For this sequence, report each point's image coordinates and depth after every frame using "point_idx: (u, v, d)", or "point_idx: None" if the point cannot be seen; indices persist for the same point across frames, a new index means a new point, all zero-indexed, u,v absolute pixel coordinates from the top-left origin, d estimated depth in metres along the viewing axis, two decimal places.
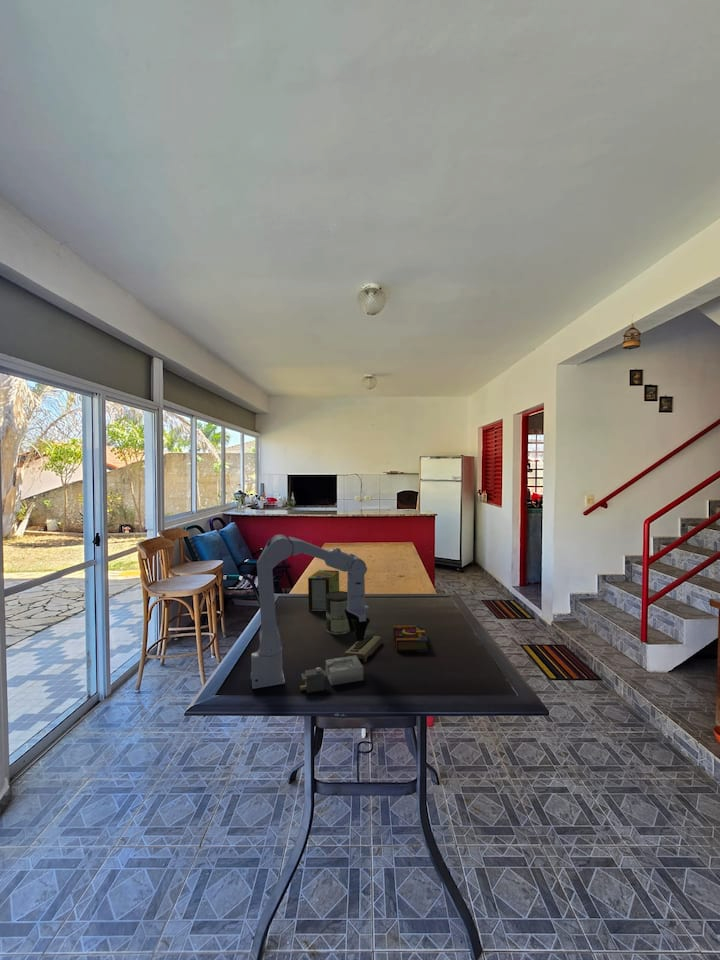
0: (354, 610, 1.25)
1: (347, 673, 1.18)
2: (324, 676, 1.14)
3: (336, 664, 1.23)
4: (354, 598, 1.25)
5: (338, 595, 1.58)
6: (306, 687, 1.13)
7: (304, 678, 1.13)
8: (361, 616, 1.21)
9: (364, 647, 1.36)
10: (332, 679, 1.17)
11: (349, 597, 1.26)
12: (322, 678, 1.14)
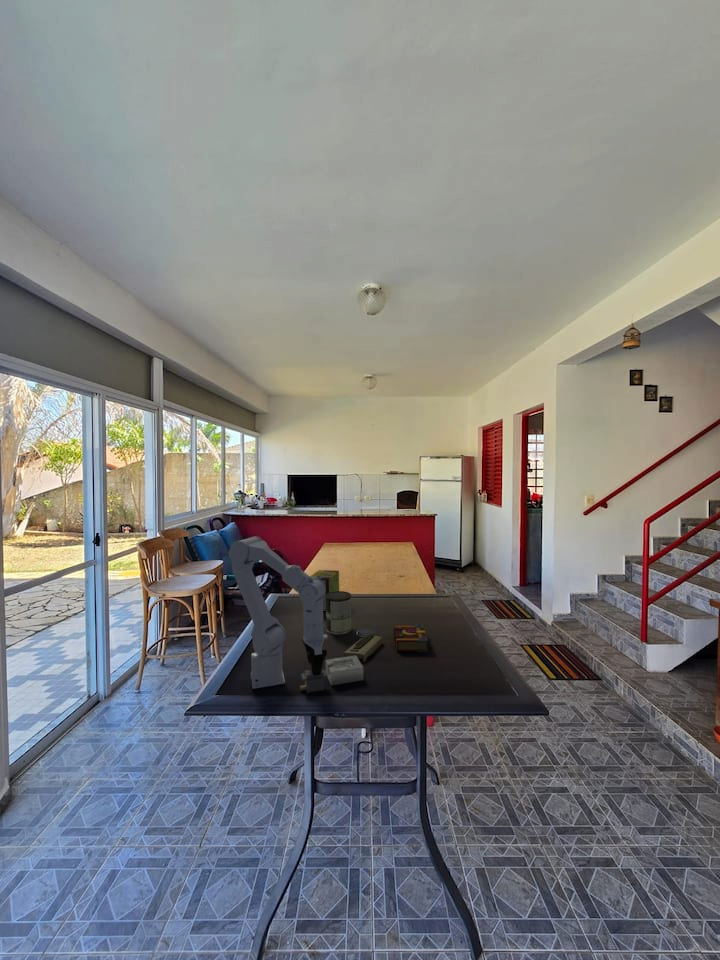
0: (310, 641, 1.12)
1: (347, 673, 1.18)
2: (324, 676, 1.14)
3: (336, 664, 1.23)
4: (310, 627, 1.12)
5: (338, 595, 1.58)
6: (306, 687, 1.13)
7: (304, 678, 1.13)
8: (316, 649, 1.08)
9: (364, 647, 1.36)
10: (332, 679, 1.17)
11: (305, 626, 1.13)
12: (322, 678, 1.14)
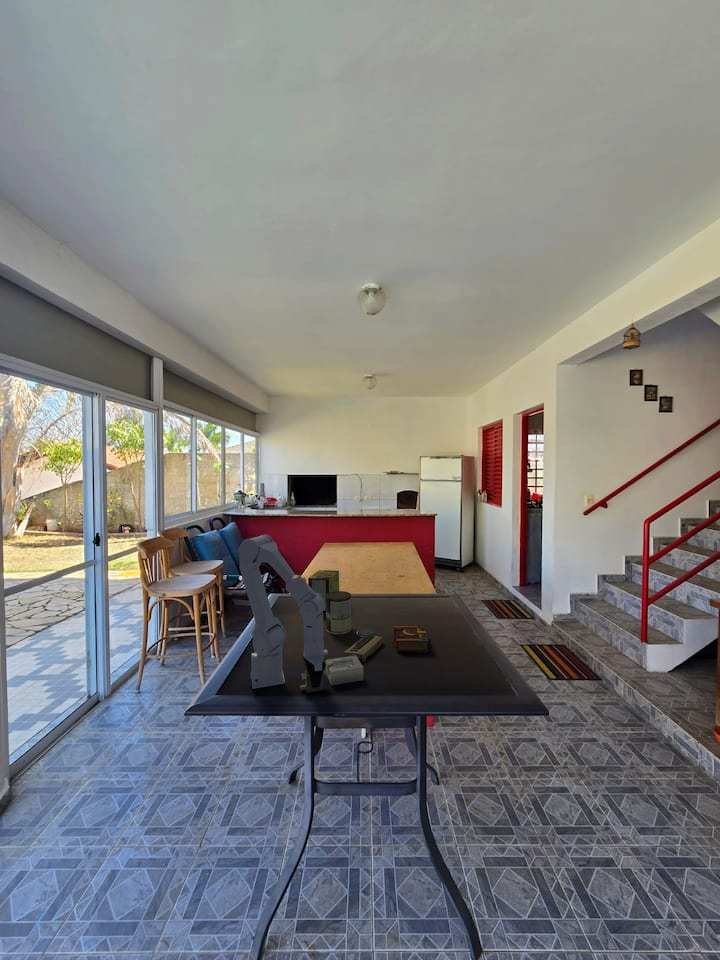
0: (310, 656, 1.12)
1: (347, 673, 1.18)
2: (324, 676, 1.14)
3: (336, 664, 1.23)
4: (310, 643, 1.12)
5: (338, 595, 1.58)
6: (306, 687, 1.13)
7: (304, 678, 1.13)
8: (316, 665, 1.08)
9: (364, 647, 1.36)
10: (332, 679, 1.17)
11: (305, 642, 1.13)
12: (322, 678, 1.14)
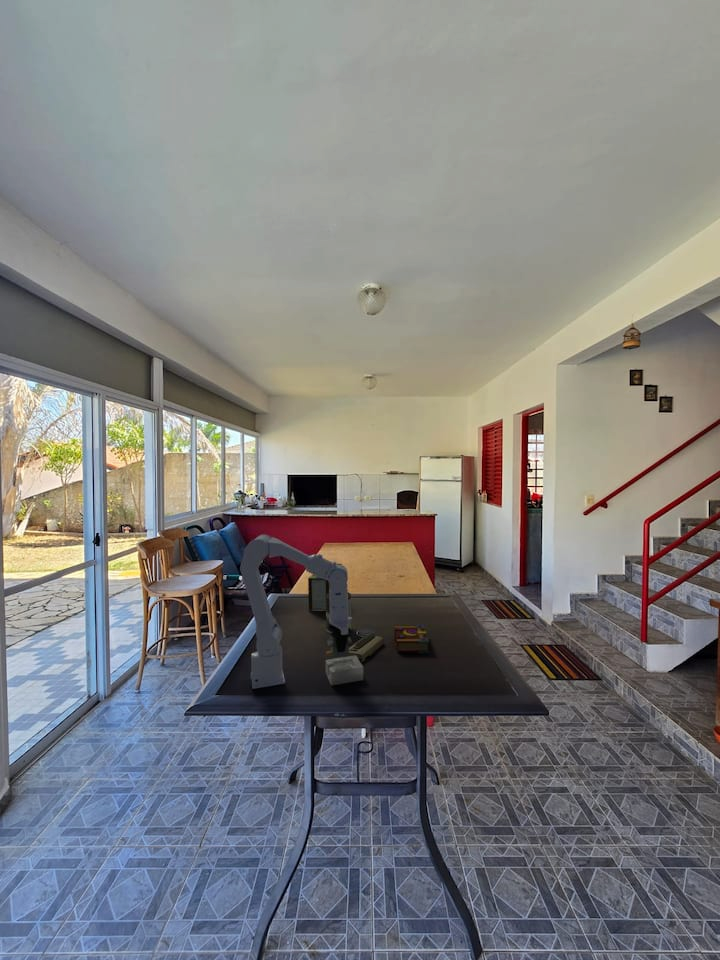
0: (336, 622, 1.17)
1: (347, 673, 1.18)
2: (349, 642, 1.20)
3: (336, 664, 1.23)
4: (336, 609, 1.17)
5: None
6: (332, 652, 1.19)
7: (330, 644, 1.18)
8: (343, 629, 1.13)
9: (363, 647, 1.36)
10: (332, 679, 1.17)
11: (331, 608, 1.18)
12: (347, 644, 1.19)
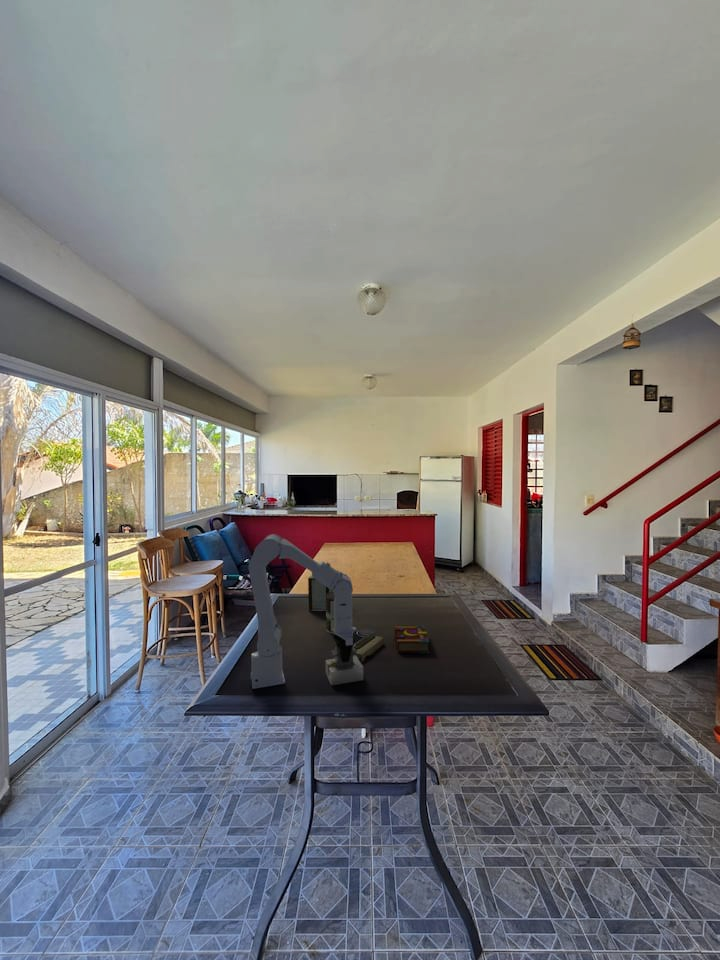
0: (341, 633, 1.19)
1: (347, 673, 1.18)
2: (353, 652, 1.21)
3: None
4: (341, 620, 1.19)
5: None
6: (336, 662, 1.20)
7: (335, 654, 1.20)
8: (348, 640, 1.14)
9: (363, 647, 1.36)
10: (332, 679, 1.17)
11: (336, 619, 1.19)
12: (351, 654, 1.21)
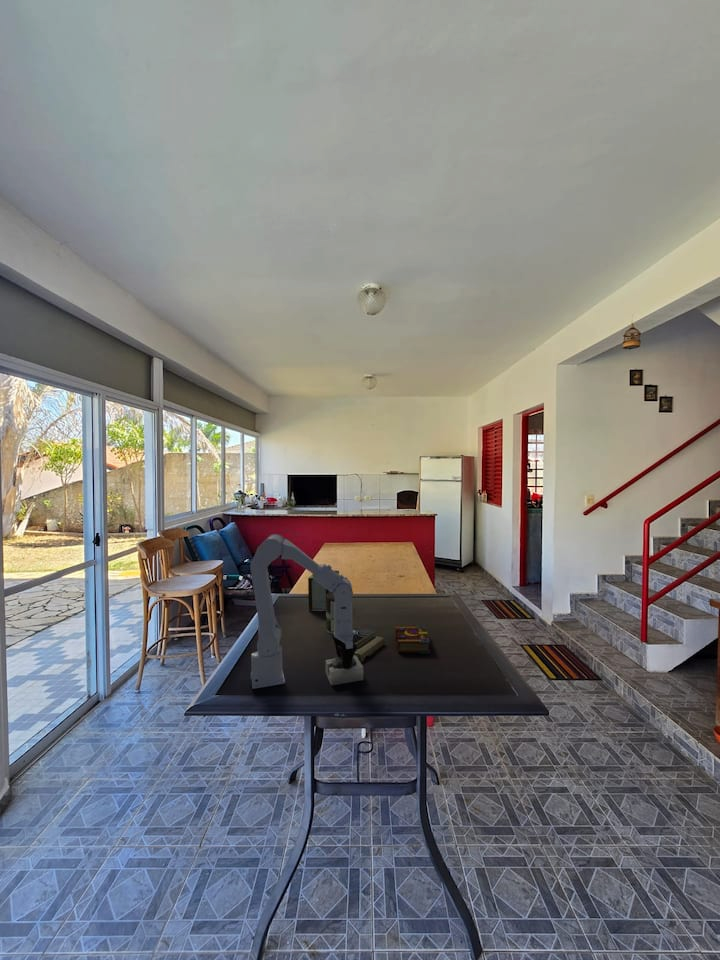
0: (341, 636, 1.19)
1: (347, 673, 1.18)
2: (353, 662, 1.21)
3: None
4: (341, 623, 1.19)
5: None
6: None
7: (335, 664, 1.20)
8: (348, 643, 1.14)
9: (363, 647, 1.36)
10: (332, 679, 1.17)
11: (336, 622, 1.19)
12: (351, 664, 1.21)
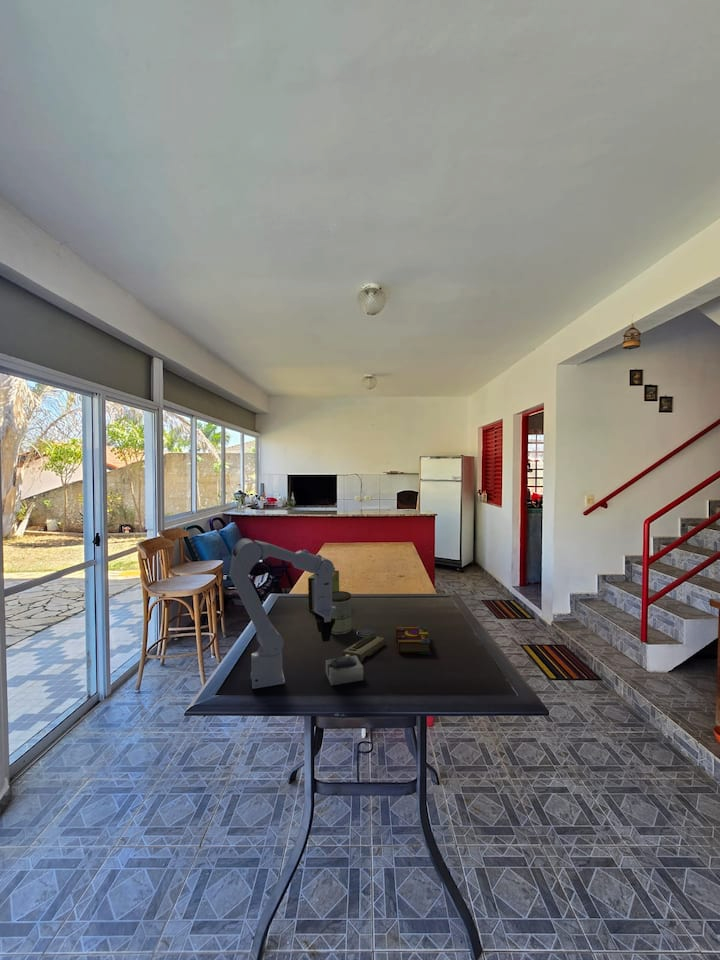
0: (320, 611, 1.25)
1: (347, 673, 1.18)
2: (353, 662, 1.21)
3: None
4: (320, 599, 1.25)
5: (338, 595, 1.58)
6: None
7: (335, 664, 1.20)
8: (326, 617, 1.21)
9: (363, 647, 1.36)
10: (332, 679, 1.17)
11: (316, 598, 1.26)
12: (351, 664, 1.21)
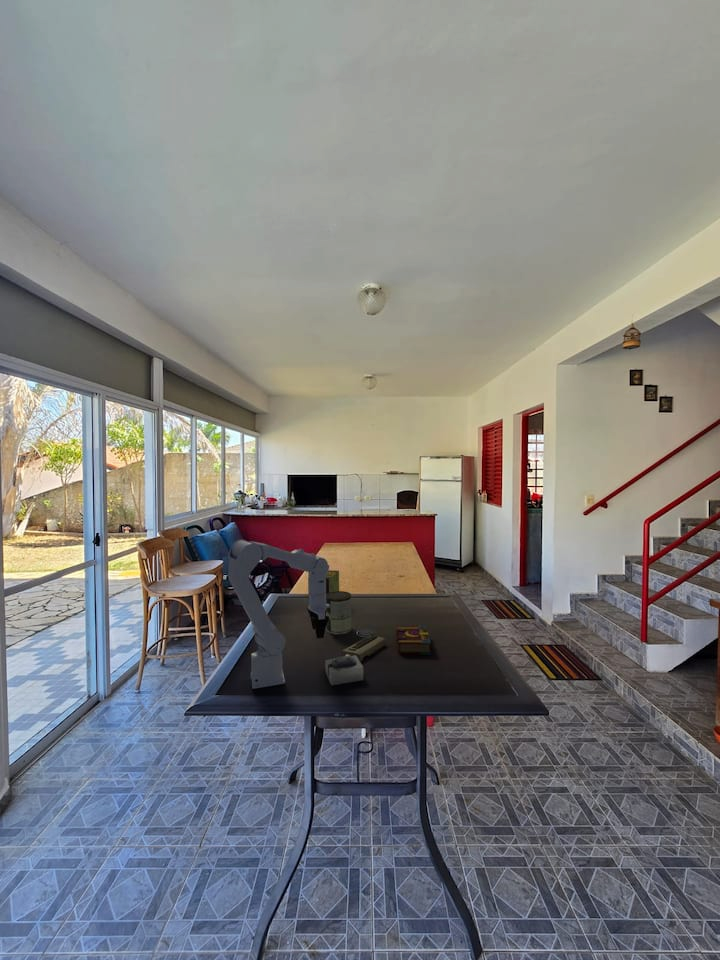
0: (314, 608, 1.27)
1: (347, 673, 1.18)
2: (353, 662, 1.21)
3: None
4: (314, 596, 1.27)
5: (338, 595, 1.58)
6: None
7: (335, 664, 1.20)
8: (320, 614, 1.23)
9: (363, 647, 1.36)
10: (332, 679, 1.17)
11: (310, 595, 1.28)
12: (351, 664, 1.21)
